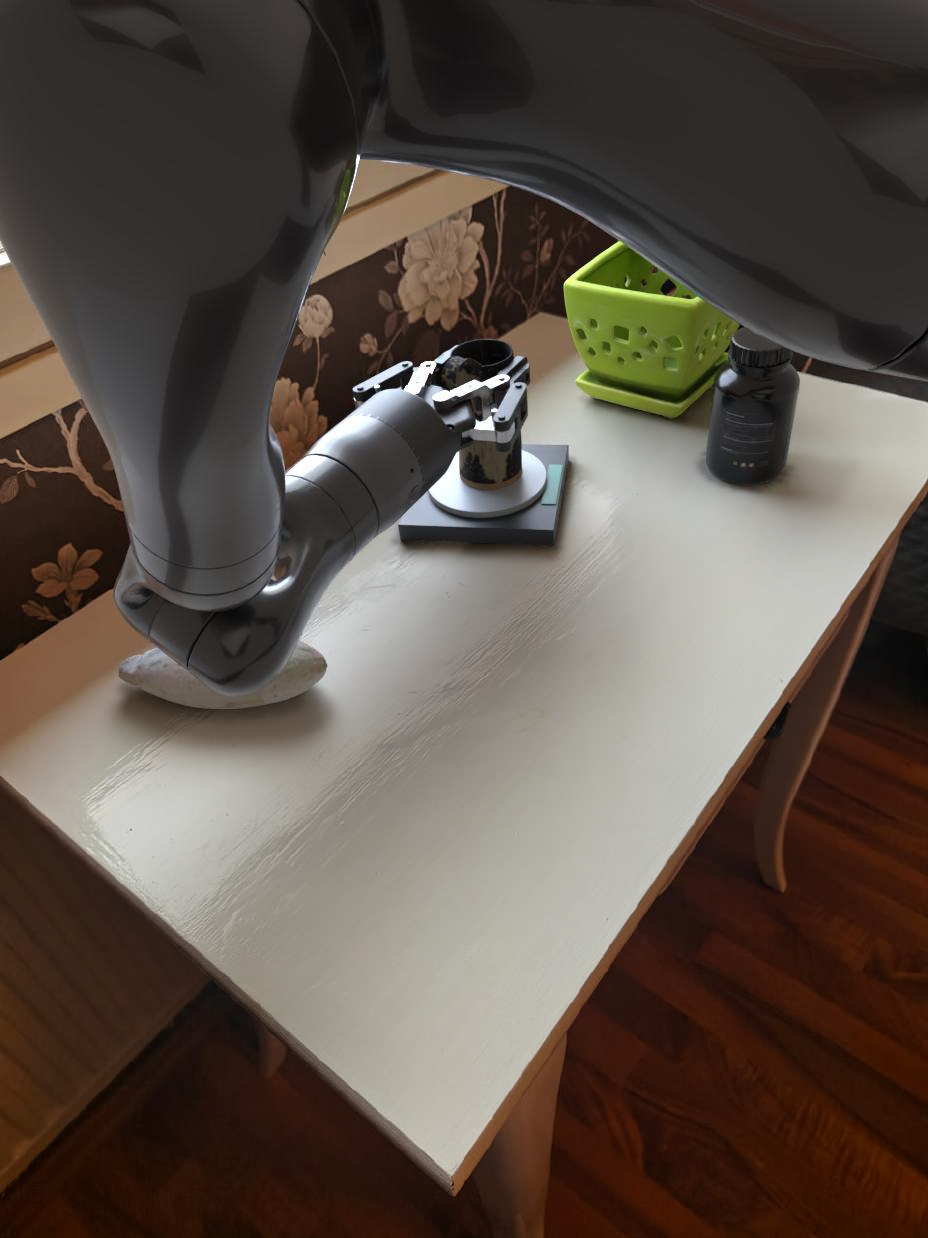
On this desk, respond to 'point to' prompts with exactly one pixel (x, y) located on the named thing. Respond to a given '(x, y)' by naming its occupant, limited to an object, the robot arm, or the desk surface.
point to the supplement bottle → (752, 411)
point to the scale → (494, 504)
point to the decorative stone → (185, 689)
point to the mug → (482, 364)
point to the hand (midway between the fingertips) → (492, 361)
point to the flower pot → (643, 335)
